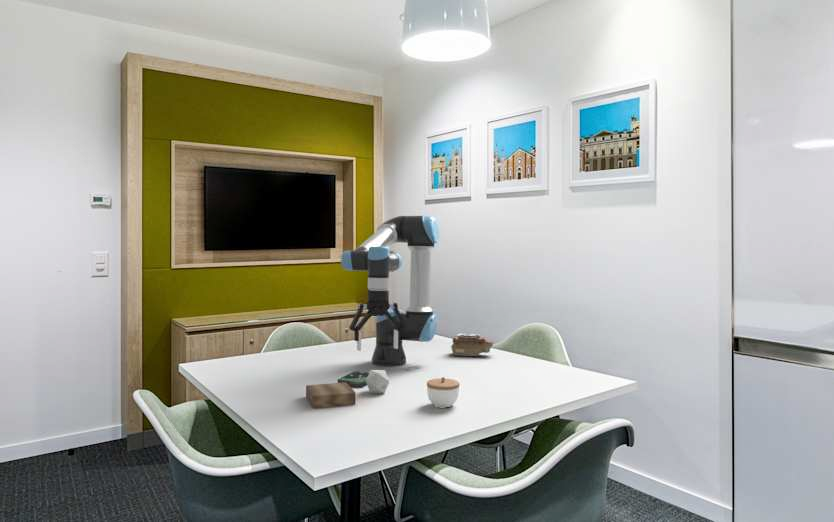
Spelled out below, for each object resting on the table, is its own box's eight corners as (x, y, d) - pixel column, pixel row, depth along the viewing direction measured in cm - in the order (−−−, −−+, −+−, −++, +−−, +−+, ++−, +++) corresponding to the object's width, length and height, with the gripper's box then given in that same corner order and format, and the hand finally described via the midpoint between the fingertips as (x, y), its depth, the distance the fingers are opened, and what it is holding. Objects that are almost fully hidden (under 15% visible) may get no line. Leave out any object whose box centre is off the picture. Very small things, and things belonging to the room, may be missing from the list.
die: (379, 399, 194) (394, 375, 197) (359, 385, 196) (374, 362, 198) (380, 401, 202) (395, 378, 205) (360, 388, 203) (375, 365, 206)
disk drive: (354, 378, 223) (336, 386, 209) (354, 371, 223) (337, 379, 209) (378, 380, 220) (362, 389, 206) (378, 373, 220) (362, 381, 206)
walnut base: (345, 393, 198) (346, 382, 198) (355, 404, 185) (355, 392, 185) (306, 396, 194) (306, 385, 193) (312, 408, 180) (313, 396, 180)
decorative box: (455, 351, 276) (455, 331, 275) (496, 354, 270) (496, 333, 269) (449, 356, 263) (449, 335, 263) (491, 359, 257) (491, 338, 257)
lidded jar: (425, 401, 190) (425, 373, 190) (456, 400, 191) (456, 373, 191) (428, 410, 179) (428, 381, 179) (461, 410, 180) (461, 381, 180)
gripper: (408, 288, 207) (407, 345, 207) (341, 289, 198) (340, 349, 199) (415, 289, 200) (414, 349, 200) (346, 290, 191) (345, 353, 192)
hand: (377, 349), depth 200 cm, fingers open, 13 cm apart
